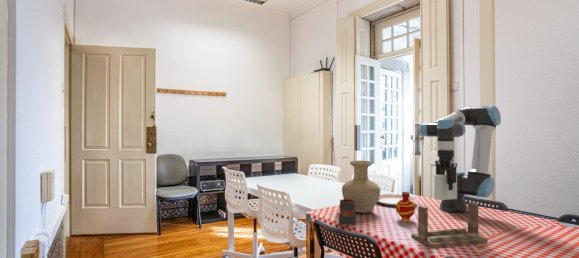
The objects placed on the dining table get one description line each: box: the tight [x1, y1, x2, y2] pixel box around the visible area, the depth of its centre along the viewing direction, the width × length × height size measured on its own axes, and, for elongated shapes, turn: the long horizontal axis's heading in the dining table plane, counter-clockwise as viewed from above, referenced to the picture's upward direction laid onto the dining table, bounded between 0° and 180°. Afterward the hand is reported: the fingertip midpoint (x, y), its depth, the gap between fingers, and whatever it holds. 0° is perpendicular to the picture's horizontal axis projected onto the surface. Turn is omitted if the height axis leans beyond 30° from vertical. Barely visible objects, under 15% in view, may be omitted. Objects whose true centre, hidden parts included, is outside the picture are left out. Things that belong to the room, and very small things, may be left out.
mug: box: [338, 198, 356, 226], centre depth 173 cm, size 9×12×12 cm
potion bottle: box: [395, 191, 417, 222], centre depth 176 cm, size 10×10×15 cm
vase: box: [341, 160, 381, 214], centre depth 194 cm, size 22×22×30 cm
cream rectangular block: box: [433, 174, 457, 201], centre depth 165 cm, size 10×4×12 cm, turn 103°
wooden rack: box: [411, 202, 488, 249], centre depth 145 cm, size 28×14×16 cm, turn 103°
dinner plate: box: [377, 193, 417, 207], centre depth 217 cm, size 28×27×3 cm
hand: (445, 195), depth 165 cm, fingers closed on cream rectangular block, 4 cm apart
